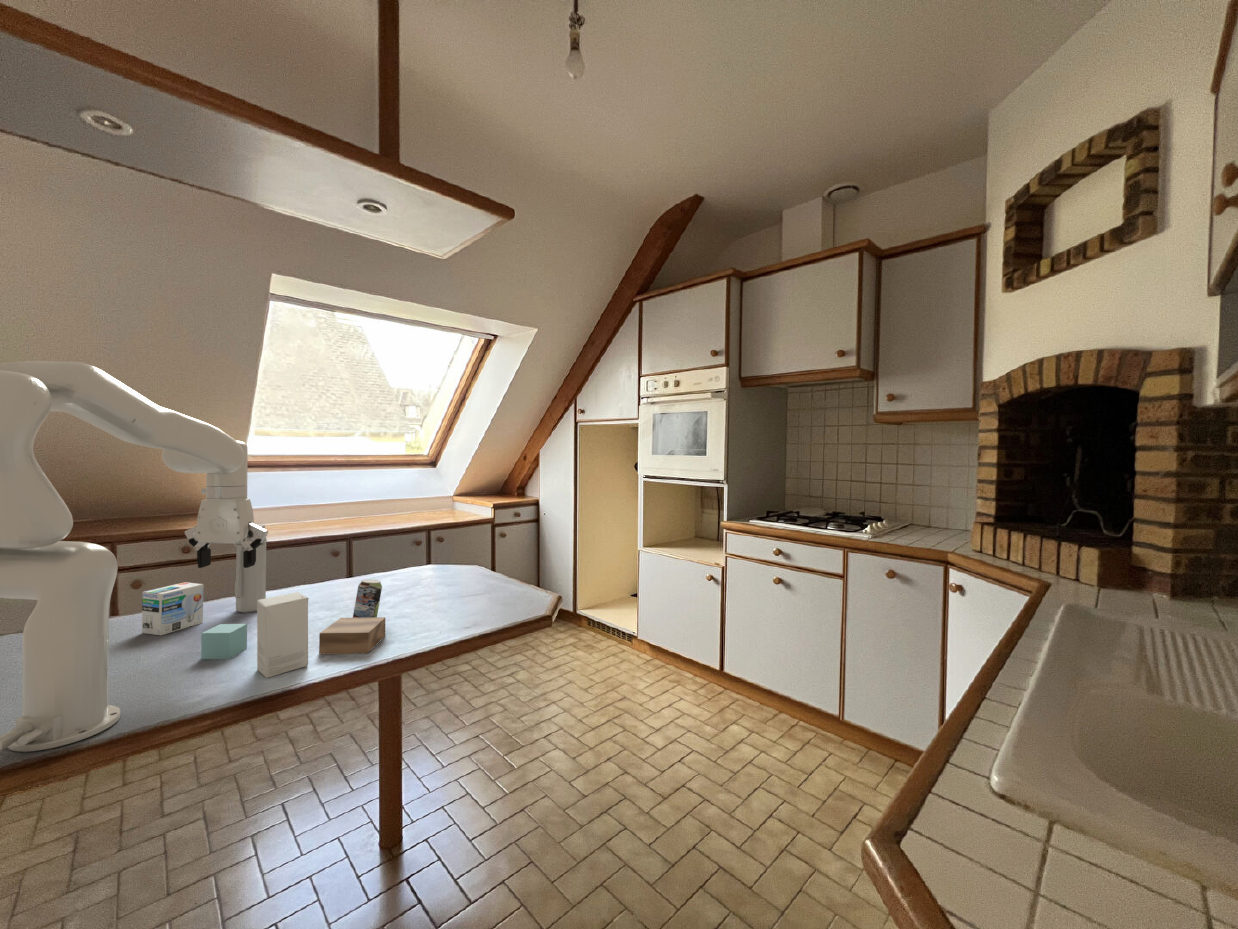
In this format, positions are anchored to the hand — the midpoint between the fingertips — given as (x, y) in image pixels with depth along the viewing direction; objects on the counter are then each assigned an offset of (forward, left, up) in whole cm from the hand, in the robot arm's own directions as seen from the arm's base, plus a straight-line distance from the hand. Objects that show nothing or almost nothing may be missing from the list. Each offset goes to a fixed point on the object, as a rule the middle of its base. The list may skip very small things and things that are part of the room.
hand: (226, 566), depth 114 cm
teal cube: (0, 0, -20) cm, 20 cm away
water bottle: (+32, +14, -21) cm, 40 cm away
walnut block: (+4, -27, -20) cm, 34 cm away
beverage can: (+20, -24, -21) cm, 37 cm away
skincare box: (-9, -17, -21) cm, 28 cm away
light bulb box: (+18, +24, -21) cm, 36 cm away
